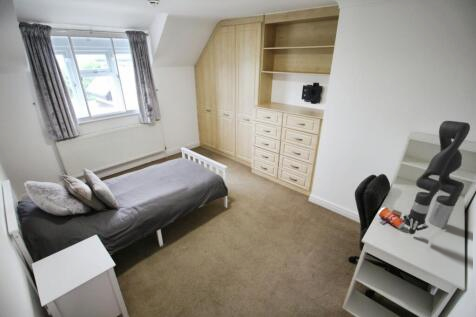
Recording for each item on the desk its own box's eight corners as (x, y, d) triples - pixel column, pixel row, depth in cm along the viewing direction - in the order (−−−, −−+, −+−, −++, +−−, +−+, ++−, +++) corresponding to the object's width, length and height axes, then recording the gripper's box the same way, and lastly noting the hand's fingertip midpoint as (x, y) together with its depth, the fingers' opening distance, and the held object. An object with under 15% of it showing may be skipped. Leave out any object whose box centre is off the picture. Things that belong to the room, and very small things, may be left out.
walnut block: (391, 215, 156) (393, 209, 154) (400, 218, 152) (401, 212, 150) (389, 218, 152) (391, 212, 151) (398, 221, 149) (400, 215, 147)
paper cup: (395, 226, 139) (376, 212, 150) (397, 231, 144) (378, 217, 155) (405, 218, 139) (385, 204, 150) (406, 224, 143) (386, 210, 155)
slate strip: (386, 219, 152) (386, 218, 151) (389, 221, 150) (389, 220, 150) (379, 222, 148) (379, 222, 148) (382, 224, 146) (382, 223, 146)
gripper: (436, 213, 125) (427, 238, 131) (410, 202, 136) (403, 225, 142) (429, 217, 122) (420, 242, 128) (403, 205, 133) (396, 228, 139)
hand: (411, 233), depth 135 cm, fingers closed
